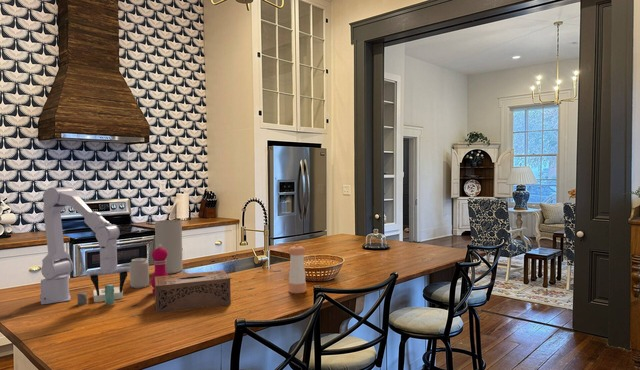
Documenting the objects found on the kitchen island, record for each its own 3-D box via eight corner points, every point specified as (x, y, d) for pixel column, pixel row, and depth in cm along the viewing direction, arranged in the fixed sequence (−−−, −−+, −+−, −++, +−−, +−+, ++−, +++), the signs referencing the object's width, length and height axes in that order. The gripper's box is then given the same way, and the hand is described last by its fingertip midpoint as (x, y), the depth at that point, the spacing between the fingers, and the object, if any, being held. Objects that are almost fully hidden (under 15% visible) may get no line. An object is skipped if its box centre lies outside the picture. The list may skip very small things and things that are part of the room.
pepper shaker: (304, 293, 170) (303, 246, 170) (286, 292, 172) (285, 245, 171) (308, 288, 178) (307, 243, 177) (291, 288, 179) (290, 242, 179)
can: (126, 287, 183) (125, 259, 183) (141, 283, 190) (140, 256, 190) (138, 289, 180) (137, 261, 180) (152, 285, 186) (152, 258, 186)
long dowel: (105, 305, 158) (105, 286, 158) (105, 303, 161) (104, 284, 161) (114, 304, 160) (114, 285, 160) (113, 302, 162) (113, 283, 162)
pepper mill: (163, 296, 170) (162, 246, 169) (147, 295, 171) (146, 245, 171) (173, 291, 177) (172, 243, 176) (157, 290, 178) (156, 242, 178)
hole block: (94, 302, 162) (94, 295, 162) (93, 296, 171) (93, 289, 171) (123, 298, 167) (122, 292, 167) (120, 292, 176) (120, 286, 176)
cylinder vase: (155, 270, 216) (154, 221, 215) (180, 267, 221) (179, 219, 221) (157, 275, 205) (155, 223, 204) (184, 272, 210) (183, 222, 209)
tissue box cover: (156, 314, 148) (155, 285, 148) (155, 303, 161) (154, 276, 161) (230, 304, 158) (230, 278, 158) (223, 294, 171) (223, 270, 171)
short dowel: (77, 305, 158) (77, 295, 158) (77, 303, 161) (77, 293, 161) (86, 304, 160) (86, 294, 159) (86, 302, 162) (86, 292, 162)
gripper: (86, 261, 153) (87, 299, 153) (130, 257, 160) (131, 292, 160) (86, 258, 159) (87, 294, 159) (128, 254, 166) (129, 288, 166)
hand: (109, 293), depth 160 cm, fingers open, 7 cm apart
